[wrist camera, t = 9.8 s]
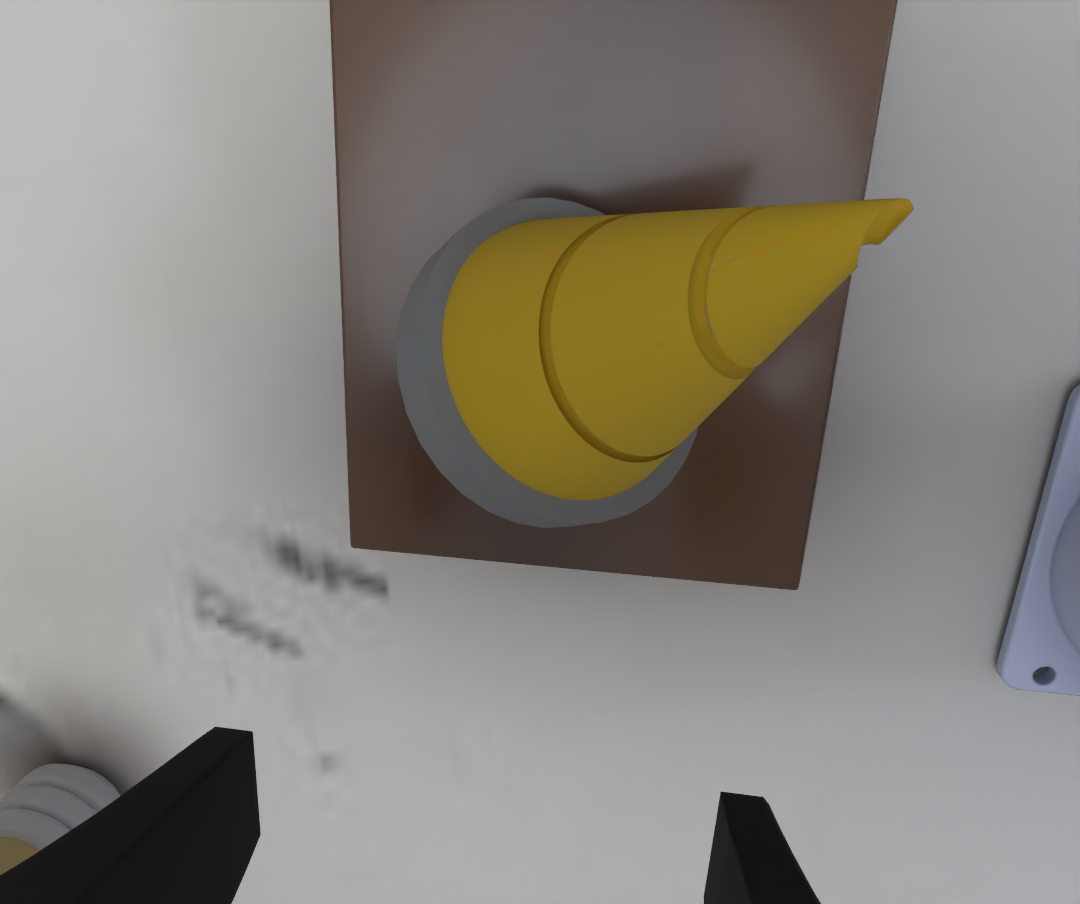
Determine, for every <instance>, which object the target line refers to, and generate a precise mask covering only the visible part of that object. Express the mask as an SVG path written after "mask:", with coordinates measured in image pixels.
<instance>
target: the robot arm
mask: <svg viewBox="0 0 1080 904" xmlns="http://www.w3.org/2000/svg"><path fill="white" fill-rule="evenodd" d="M1040 667H1049V668H1048V670H1047V671H1046V672H1045V673H1043V674H1042V675H1033V674H1034V672H1035V671H1036V670H1037V669H1039V668H1040ZM997 671H998V673H999V675H1000V677H1001V679H1002V680H1003V682H1004V683H1005V684H1006V685H1008V686H1009V687H1011V688H1015V689H1020V690H1029V691H1039V692H1049V693H1058V694H1068V695H1077V696H1080V384H1079V385H1078V386H1077V387H1076V388H1075V389H1073V390H1072V392H1071V394H1070V396H1069V398H1068V402H1067V406H1066V409H1065V413H1064V417H1063V420H1062V424H1061V428H1060V431H1059V435H1058V439H1057V443H1056V446H1055V450H1054V454H1053V457H1052V461H1051V465H1050V469H1049V472H1048V476H1047V480H1046V483H1045V487H1044V491H1043V494H1042V498H1041V502H1040V506H1039V509H1038V513H1037V517H1036V520H1035V524H1034V528H1033V532H1032V535H1031V539H1030V543H1029V546H1028V550H1027V554H1026V558H1025V561H1024V565H1023V569H1022V572H1021V576H1020V580H1019V583H1018V587H1017V591H1016V595H1015V598H1014V602H1013V606H1012V609H1011V613H1010V617H1009V621H1008V624H1007V628H1006V632H1005V635H1004V639H1003V643H1002V646H1001V650H1000V654H999V658H998V661H997ZM259 837H260V822H259V809H258V796H257V783H256V769H255V756H254V743H253V732H252V731H244V730H237V729H229V728H221V727H214V728H213V729H211V730H210V731H209V732H207V733H206V734H204V735H203V736H202V737H200V738H199V739H197V740H196V741H195V742H193V743H192V744H191V745H189V746H188V747H187V748H185V749H184V750H183V751H181V752H180V753H178V754H177V755H176V756H174V757H173V758H172V759H170V760H169V761H168V762H166V763H165V764H164V765H162V766H161V767H160V768H158V769H157V770H156V771H154V772H153V773H152V774H150V775H149V776H147V777H146V778H145V779H143V780H142V781H141V782H139V783H138V784H136V785H135V786H134V787H132V788H131V789H130V790H128V791H127V792H125V793H124V794H123V795H121V796H120V797H118V798H117V799H116V800H114V801H113V802H111V803H110V804H109V805H107V806H106V807H104V808H103V809H102V810H100V811H99V812H97V813H96V814H95V815H93V816H91V817H90V818H88V819H87V820H85V821H84V822H82V823H81V824H79V825H78V826H76V827H75V828H73V829H72V830H70V831H69V832H67V833H66V834H64V835H63V836H61V837H60V838H58V839H57V840H55V841H54V842H52V843H51V844H49V845H48V846H46V847H45V848H43V849H42V850H40V851H39V852H37V853H36V854H34V855H33V856H31V857H29V858H28V859H26V860H24V861H23V862H21V863H20V864H18V865H16V866H15V867H13V868H11V869H10V870H8V871H6V872H5V873H3V874H1V875H0V904H231V903H232V901H233V899H234V897H235V894H236V892H237V890H238V887H239V885H240V883H241V881H242V878H243V876H244V874H245V871H246V869H247V867H248V864H249V862H250V859H251V857H252V854H253V852H254V849H255V847H256V844H257V842H258V839H259ZM704 904H821V903H820V902H819V900H818V898H817V897H816V895H815V893H814V891H813V890H812V888H811V886H810V884H809V882H808V881H807V879H806V877H805V875H804V873H803V872H802V870H801V868H800V866H799V864H798V862H797V860H796V858H795V857H794V855H793V853H792V851H791V849H790V847H789V845H788V843H787V841H786V839H785V837H784V835H783V833H782V831H781V829H780V827H779V825H778V823H777V821H776V819H775V816H774V814H773V812H772V810H771V808H770V805H769V804H768V803H767V801H766V800H765V799H764V798H763V797H758V796H750V795H743V794H735V793H727V792H721V794H720V800H719V807H718V813H717V819H716V825H715V831H714V837H713V843H712V850H711V856H710V862H709V868H708V874H707V880H706V886H705V893H704Z"/></svg>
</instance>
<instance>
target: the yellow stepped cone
mask: <svg viewBox="0 0 1080 904" xmlns="http://www.w3.org/2000/svg"><path fill="white" fill-rule="evenodd" d="M912 211H913V206H912V204H911V202H910V201H909V200H908V199H877V200H858V201H841V202H823V203H806V204H789V205H776V206H756V207H739V208H722V209H705V210H688V211H671V212H654V213H638V214H620V215H605V214H603V213H602V212H599V211H597V210H594V209H592V208H589V207H586V206H584V205H581V204H579V203H576V202H572V201H566V200H560V199H554V198H548V197H547V198H528V199H519V200H515V201H512V202H508V203H505V204H502V205H498V206H495V207H493V208H491V209H490V210H488V211H486V212H485V213H483V214H481V215H479V216H478V217H476V218H474V219H473V220H471V221H470V222H469V223H468V224H466V225H465V226H464V227H463V228H462V229H461V230H460V231H458V232H457V233H456V234H455V235H454V236H453V237H452V238H451V239H449V240H448V241H447V242H446V243H445V244H444V245H443V246H442V247H441V248H440V249H439V250H438V251H437V252H436V253H435V254H434V255H433V256H432V257H431V258H430V259H429V260H428V261H427V262H426V263H425V265H424V266H423V268H422V269H421V271H420V273H419V274H418V276H417V277H416V279H415V280H414V282H413V284H412V285H411V287H410V290H409V293H408V296H407V298H406V301H405V304H404V307H403V310H402V312H401V315H400V323H399V330H398V337H397V341H396V342H394V343H393V344H395V345H396V352H397V369H398V381H399V385H400V389H401V393H402V397H403V401H404V406H405V410H406V413H407V415H408V418H409V420H410V422H411V424H412V426H413V429H414V431H415V433H416V435H417V438H418V440H419V442H420V444H421V445H422V447H423V448H424V450H425V451H426V453H427V454H428V456H429V457H430V458H431V460H432V461H433V463H434V464H435V466H436V467H437V469H438V470H439V471H440V472H441V473H442V474H443V475H444V476H445V477H446V478H447V479H448V480H449V481H450V482H451V483H452V484H453V485H454V486H455V487H456V488H457V489H458V490H459V491H460V492H461V493H462V494H463V495H464V496H466V497H467V498H469V499H470V500H472V501H473V502H475V503H476V504H478V505H479V506H481V507H482V508H484V509H485V510H487V511H488V512H490V513H493V514H495V515H498V516H500V517H503V518H505V519H507V520H510V521H512V522H515V523H518V524H524V525H530V526H536V527H542V528H553V527H571V526H578V525H585V524H592V523H600V522H605V521H608V520H611V519H615V518H618V517H621V516H625V515H628V514H630V513H632V512H633V511H635V510H637V509H638V508H640V507H642V506H644V505H645V504H647V503H649V502H650V501H652V500H653V499H654V498H655V497H656V496H657V495H658V494H659V493H660V492H661V491H662V490H663V489H665V488H666V487H667V486H668V485H669V484H670V483H671V481H672V480H673V478H674V477H675V475H676V474H677V473H678V471H679V470H680V468H681V467H682V465H683V464H684V462H685V461H686V458H687V456H688V454H689V451H690V449H691V447H692V444H693V442H694V440H695V437H696V434H697V430H698V426H699V425H700V424H701V423H702V422H703V421H704V420H705V419H706V418H707V417H708V416H709V415H710V414H711V413H712V412H713V411H714V410H715V409H716V408H717V407H718V406H719V405H720V404H721V403H722V402H723V401H724V400H725V399H726V398H727V397H728V396H729V395H730V394H731V393H732V392H733V391H734V390H735V389H736V388H737V387H738V386H739V385H740V384H741V383H742V382H743V381H744V380H745V379H746V378H747V377H748V376H749V375H750V374H751V373H752V372H753V371H754V370H755V368H756V367H757V366H758V365H759V364H761V363H762V362H763V361H764V360H765V359H766V358H767V357H768V356H769V355H770V354H771V353H772V352H773V351H774V350H775V349H776V348H777V347H778V346H779V345H780V344H781V343H782V342H783V341H784V340H785V339H786V338H787V337H788V336H789V335H790V334H791V333H792V332H793V331H794V330H795V329H796V328H797V327H798V326H799V325H800V324H801V323H802V322H803V321H804V320H805V319H806V318H807V317H808V316H809V315H810V314H811V313H812V312H813V311H814V310H815V309H816V308H817V307H818V306H819V305H820V304H821V303H822V302H823V301H824V300H825V299H826V298H827V297H828V296H829V295H830V294H831V293H832V292H833V291H834V290H835V289H836V288H837V287H838V286H839V285H840V284H841V283H842V282H843V281H844V280H845V279H846V278H847V277H848V276H849V275H850V274H851V273H852V272H853V271H854V270H855V269H856V268H857V260H858V254H859V250H860V247H861V246H862V245H865V244H874V245H878V244H880V243H882V242H883V241H884V240H885V239H886V238H887V237H888V236H889V235H890V234H891V233H892V232H893V231H894V230H895V229H896V228H897V227H898V226H899V225H900V224H901V223H902V222H903V220H904V219H905V218H906V217H907V216H908V215H909V214H910V213H911V212H912Z"/></svg>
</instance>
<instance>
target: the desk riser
mask: <svg viewBox="0 0 1080 904" xmlns="http://www.w3.org/2000/svg"><path fill="white" fill-rule="evenodd" d="M897 1H898V0H330V24H331V50H332V76H333V101H334V127H335V153H336V179H337V205H338V231H339V256H340V282H341V308H342V334H343V360H344V386H345V411H346V437H347V463H348V489H349V515H350V541H351V547H353V548H360V549H370V550H381V551H391V552H401V553H412V554H422V555H433V556H443V557H454V558H464V559H475V560H485V561H496V562H506V563H517V564H527V565H538V566H548V567H559V568H569V569H579V570H590V571H600V572H611V573H621V574H632V575H642V576H653V577H663V578H674V579H684V580H695V581H705V582H716V583H726V584H736V585H747V586H757V587H768V588H778V589H789V590H797V589H798V587H799V583H800V577H801V571H802V565H803V559H804V553H805V547H806V541H807V536H808V530H809V524H810V518H811V512H812V506H813V500H814V494H815V488H816V482H817V476H818V470H819V464H820V458H821V452H822V446H823V440H824V435H825V429H826V423H827V417H828V411H829V405H830V399H831V393H832V387H833V381H834V375H835V369H836V363H837V357H838V351H839V345H840V339H841V334H842V328H843V322H844V316H845V310H846V304H847V298H848V292H849V286H850V280H851V274H852V273H851V274H850V275H849V276H848V277H847V278H846V279H845V280H844V281H843V282H842V283H841V284H840V285H839V286H838V287H837V288H836V289H835V290H834V291H833V292H832V293H831V294H830V295H829V296H828V297H827V298H826V299H825V300H824V301H823V302H822V303H821V304H820V305H819V306H818V307H817V308H816V309H815V310H814V311H813V312H812V313H811V314H810V315H809V316H808V317H807V318H806V319H805V320H804V321H803V322H802V323H801V324H800V325H799V326H798V327H797V328H796V329H795V330H794V331H793V332H792V333H791V334H790V335H789V336H788V337H787V338H786V339H785V340H784V341H783V342H782V343H781V344H780V345H779V346H778V347H777V348H776V349H775V350H774V351H773V352H772V353H771V354H770V355H769V356H768V357H767V358H766V359H765V360H764V361H763V362H762V363H761V364H759V365H758V366H757V367H756V368H755V370H754V371H753V372H752V373H751V374H750V375H749V376H748V377H747V378H746V379H745V380H744V381H743V382H742V383H741V384H740V385H739V386H738V387H737V388H736V389H735V390H734V391H733V392H732V393H731V394H730V395H729V396H728V397H727V398H726V399H725V400H724V401H723V402H722V403H721V404H720V405H719V406H718V407H717V408H716V409H715V410H714V411H713V412H712V413H711V414H710V415H709V416H708V417H707V418H706V419H705V420H704V421H703V422H702V423H701V424H700V425H699V426H698V430H697V434H696V437H695V440H694V442H693V444H692V447H691V449H690V451H689V454H688V456H687V458H686V461H685V462H684V464H683V465H682V467H681V468H680V470H679V471H678V473H677V474H676V475H675V477H674V478H673V480H672V481H671V483H670V484H669V485H668V486H667V487H666V488H665V489H663V490H662V491H661V492H660V493H659V494H658V495H657V496H656V497H655V498H654V499H653V500H652V501H650V502H649V503H647V504H645V505H644V506H642V507H640V508H638V509H637V510H635V511H633V512H632V513H630V514H628V515H625V516H621V517H618V518H615V519H611V520H608V521H605V522H600V523H592V524H585V525H578V526H571V527H553V528H542V527H536V526H530V525H524V524H518V523H515V522H512V521H510V520H507V519H505V518H503V517H500V516H498V515H495V514H493V513H490V512H488V511H487V510H485V509H484V508H482V507H481V506H479V505H478V504H476V503H475V502H473V501H472V500H470V499H469V498H467V497H466V496H464V495H463V494H462V493H461V492H460V491H459V490H458V489H457V488H456V487H455V486H454V485H453V484H452V483H451V482H450V481H449V480H448V479H447V478H446V477H445V476H444V475H443V474H442V473H441V472H440V471H439V470H438V469H437V467H436V466H435V464H434V463H433V461H432V460H431V458H430V457H429V456H428V454H427V453H426V451H425V450H424V448H423V447H422V445H421V444H420V442H419V440H418V438H417V435H416V433H415V431H414V429H413V426H412V424H411V422H410V420H409V418H408V415H407V413H406V410H405V406H404V401H403V397H402V393H401V389H400V385H399V381H398V369H397V352H396V345H395V344H393V343H394V342H396V341H397V337H398V330H399V323H400V315H401V312H402V310H403V307H404V304H405V301H406V298H407V296H408V293H409V290H410V287H411V285H412V284H413V282H414V280H415V279H416V277H417V276H418V274H419V273H420V271H421V269H422V268H423V266H424V265H425V263H426V262H427V261H428V260H429V259H430V258H431V257H432V256H433V255H434V254H435V253H436V252H437V251H438V250H439V249H440V248H441V247H442V246H443V245H444V244H445V243H446V242H447V241H448V240H449V239H451V238H452V237H453V236H454V235H455V234H456V233H457V232H458V231H460V230H461V229H462V228H463V227H464V226H465V225H466V224H468V223H469V222H470V221H471V220H473V219H474V218H476V217H478V216H479V215H481V214H483V213H485V212H486V211H488V210H490V209H491V208H493V207H495V206H498V205H502V204H505V203H508V202H512V201H515V200H519V199H528V198H547V197H548V198H554V199H560V200H566V201H572V202H576V203H579V204H581V205H584V206H586V207H589V208H592V209H594V210H597V211H599V212H602V213H603V214H605V215H620V214H638V213H654V212H671V211H688V210H705V209H722V208H739V207H756V206H776V205H789V204H806V203H823V202H841V201H858V200H864V197H865V191H866V185H867V179H868V173H869V167H870V161H871V155H872V149H873V143H874V137H875V132H876V126H877V120H878V114H879V108H880V102H881V96H882V90H883V84H884V78H885V72H886V66H887V60H888V54H889V48H890V42H891V36H892V31H893V25H894V19H895V13H896V7H897Z"/></svg>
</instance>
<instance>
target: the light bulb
mask: <svg viewBox="0 0 1080 904" xmlns="http://www.w3.org/2000/svg"><path fill="white" fill-rule="evenodd" d="M118 797H120V794H119V792H118V791H117V789H116V788H115V787H114V786H113V784H112V783H110V782H109V781H108V780H107V779H106V778H104V777H103V776H102V775H100V774H99V773H97V772H95V771H93V770H90V769H87V768H84V767H80V766H76V765H70V764H47V765H43V766H40V767H38V768H36V769H34V770H32V771H31V772H29V773H28V774H27V775H25V776H24V777H23V778H22V779H21V780H20V781H19V782H18V784H17V785H16V786H15V787H14V788H13V789H12V790H11V792H10V793H9V794H8V795H7V796H5V797H4V798H3V799H2V800H1V801H0V875H1V874H3V873H5V872H6V871H8V870H10V869H11V868H13V867H15V866H16V865H18V864H20V863H21V862H23V861H24V860H26V859H28V858H29V857H31V856H33V855H34V854H36V853H37V852H39V851H40V850H42V849H43V848H45V847H46V846H48V845H49V844H51V843H52V842H54V841H55V840H57V839H58V838H60V837H61V836H63V835H64V834H66V833H67V832H69V831H70V830H72V829H73V828H75V827H76V826H78V825H79V824H81V823H82V822H84V821H85V820H87V819H88V818H90V817H91V816H93V815H95V814H96V813H97V812H99V811H100V810H102V809H103V808H104V807H106V806H107V805H109V804H110V803H111V802H113V801H114V800H116V799H117V798H118Z"/></svg>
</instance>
